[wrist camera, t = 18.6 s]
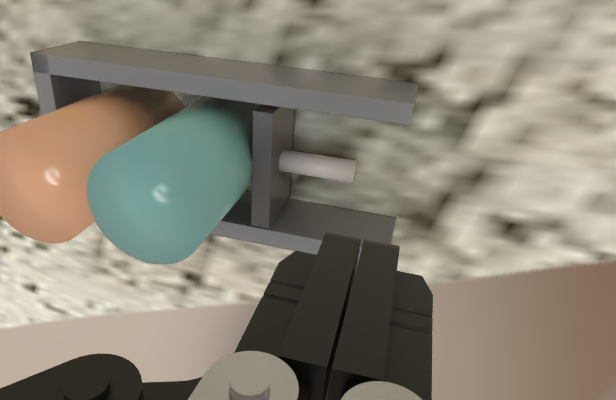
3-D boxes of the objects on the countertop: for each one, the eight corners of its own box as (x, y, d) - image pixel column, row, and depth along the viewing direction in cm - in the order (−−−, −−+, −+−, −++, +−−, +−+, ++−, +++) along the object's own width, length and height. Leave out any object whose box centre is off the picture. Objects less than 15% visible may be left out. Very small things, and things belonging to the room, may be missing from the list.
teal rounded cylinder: (193, 169, 32) (95, 251, 23) (189, 83, 29) (77, 138, 20) (275, 183, 31) (206, 274, 22) (279, 95, 28) (202, 159, 19)
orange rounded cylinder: (115, 157, 33) (-7, 231, 24) (104, 73, 30) (-35, 122, 22) (192, 170, 32) (94, 253, 23) (188, 84, 29) (77, 141, 20)
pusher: (273, 193, 30) (251, 225, 27) (278, 91, 28) (253, 110, 24) (354, 208, 30) (341, 242, 26) (367, 103, 27) (354, 125, 23)
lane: (98, 178, 34) (58, 203, 30) (79, 40, 30) (29, 52, 26) (393, 232, 30) (385, 269, 26) (418, 83, 26) (413, 104, 22)
